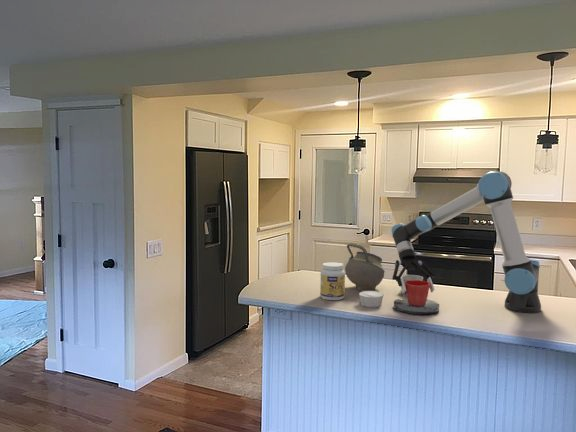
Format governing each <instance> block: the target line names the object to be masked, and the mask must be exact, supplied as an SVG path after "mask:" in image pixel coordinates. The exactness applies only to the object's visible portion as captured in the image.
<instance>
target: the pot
mask: <svg viewBox="0 0 576 432" xmlns="http://www.w3.org/2000/svg"><path fill="white" fill-rule="evenodd" d="M346 248H347V251H348V252H349V254H350V257H349V258H348V261H347V262H346V264H345V267H344V271H345V277H346V278H347V279H348V280H349V281H350V282H351V283H352V284H353V285H355V288H356V290H359V291H362V292H363V291H376V287H378V286H379V285H380V284H381V283H382V281H383V279H384V277H385V273H386V272H385V270H384V268H383V265H382V262H383V258H382V257H380V256H378V255H376V254H374V253H370V252H368V251H367V249H366V248H365V247H364V246H362V245H360V244H357V243H353V242H351V243H350V242H349V243H347V245H346ZM351 248H357V249H360V250H362V251H356V254H355V256H354V255H353V251H352V250H351Z"/></svg>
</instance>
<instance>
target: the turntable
mask: <svg viewBox="0 0 576 432" xmlns="http://www.w3.org/2000/svg"><path fill="white" fill-rule="evenodd" d="M393 308H394V309H396V310H398V311H400V312H403V313H408V314H411V313H412V314H413V315H431V314H436V313H439V311H440V304H439V303H438V302H436V301H434V300H432V299H428V298H427V300H426V304H425V305H422V306H417V305H411V304H409V303H408V299H407V297H401V298H397V299H395V300H393Z"/></svg>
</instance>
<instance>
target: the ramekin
mask: <svg viewBox="0 0 576 432" xmlns="http://www.w3.org/2000/svg"><path fill="white" fill-rule="evenodd" d="M358 297H359V300H360V304H361V306H363V307H367V308H379V307H381V305H382V302H383V299H384V293H383V292H380V291H376V290H373V291H363V290H362V291H361V292H359V293H358Z"/></svg>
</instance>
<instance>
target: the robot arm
mask: <svg viewBox="0 0 576 432" xmlns="http://www.w3.org/2000/svg"><path fill="white" fill-rule="evenodd" d="M512 186H513V185H512V179H511V177H510V175H509V174H507V173H506V172H504V171H499V170H492V171H489V172H486V173H485V174H484V175H482V176H481V177H480V179H479V180H478V183H477V185H476V187H474V188H472V189H470V190H469V191H467V192H465V193H464V194H461V195H460V196H458V197H456V198H454V199H453V200H451V201H449V202H447V203H446V204H443V205H442V206H440V207H439V208H436V209H435V210H432V211H431V212H428V213H427V214H422V215H420V216H418V217H416V218H415V219H412V220H411V221H410V222H408V223H406V224H404V223H398V224H397V223H396V224H394V225H393V226H392V228H391V234H392V235H391V236H392V238H393V241H394V244H395V248H396V251H397V254H398V258H399V259H396V261H395V262H394V270H393V275H392V281H395V282H397V286H399V287H400V289H401V293H402V294H403V295H405V293H406V288H405V285H404V282H403V278H402V276H403V275H404V273H405V271H406V270H407V271H416V272H418V273H419V274H420V275H422V277H425V278H426V279H427V280H426V282H429V283H430V286H429V290H430V293H433V292H434V291H435V290H436V289H435V286H434V285H435V281H434V278H435V276H436V273H435V272H434V271H433V270H432V269H431V268H430V267H429V266H428V264H426V262H425V260H424V259H420V260H418V259H417V256H416V253H415V250H414V246H413V244H412V240H413V239H416V237H418V236H420V235H422V234H424V233H427V232H429V231H432V230H433V229H435V228H436V227H438V226H441V225H442V224H445V223H446V222H449V221H450V220H451V219H454V218H455V217H457V216H459V215H461V214H463V213H464V212H467V211H468V210H470V209H472V208H474V207H475V206H478V205H480V204H482V203H484V205H485V206H486V207H488V208H489V210H490V213H491V218H492V221H493V224H494V227H495V231H496V235H497V239H498V241H499V245H500V249H501V252H502V256H503V259H504V261H503V263H502V264H501V267H502V269H503V273H504V284H505V287H506V288H507V290H508V293H507V295H506V297H505V300H504V308H506V309H507V310H511V311H515V312H519V313H527V314H529V313H531V314H534V313H535V314H536V313H539V312H541V311H542V304H541V300H540V296H539V293H538V292H539V276H540V275H539V274H540V261H539V260H537V259H531V258H529V257H527V256H526V253H525V248H524V245H523V241H522V238H521V234H520V231H519V227H518V224H517V222H516V221H517V219H516V218H515V217H516V216H515V214H514V210H513V206H512V201H513V199H514V196H513V192H512V189H511V188H512ZM399 260H400V261H399ZM400 266H402V269H401V271H400V273H399V274H398V272H399V268H400Z"/></svg>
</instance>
